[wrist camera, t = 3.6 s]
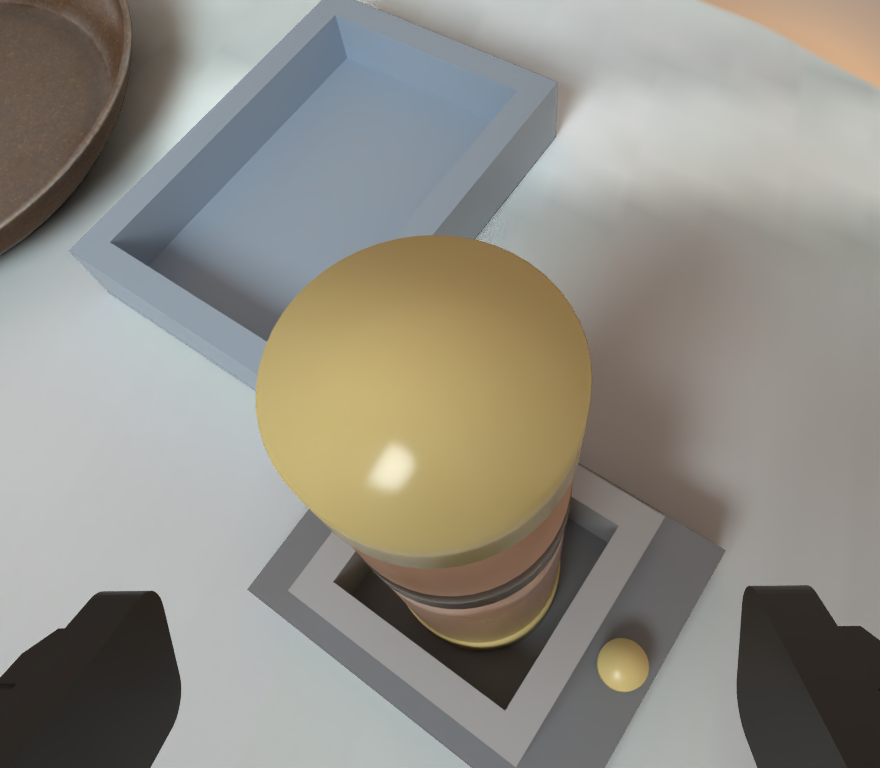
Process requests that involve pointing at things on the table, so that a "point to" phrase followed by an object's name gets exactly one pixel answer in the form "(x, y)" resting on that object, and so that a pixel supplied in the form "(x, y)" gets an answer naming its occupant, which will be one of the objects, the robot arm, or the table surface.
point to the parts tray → (317, 175)
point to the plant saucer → (56, 101)
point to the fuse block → (530, 660)
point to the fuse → (435, 426)
